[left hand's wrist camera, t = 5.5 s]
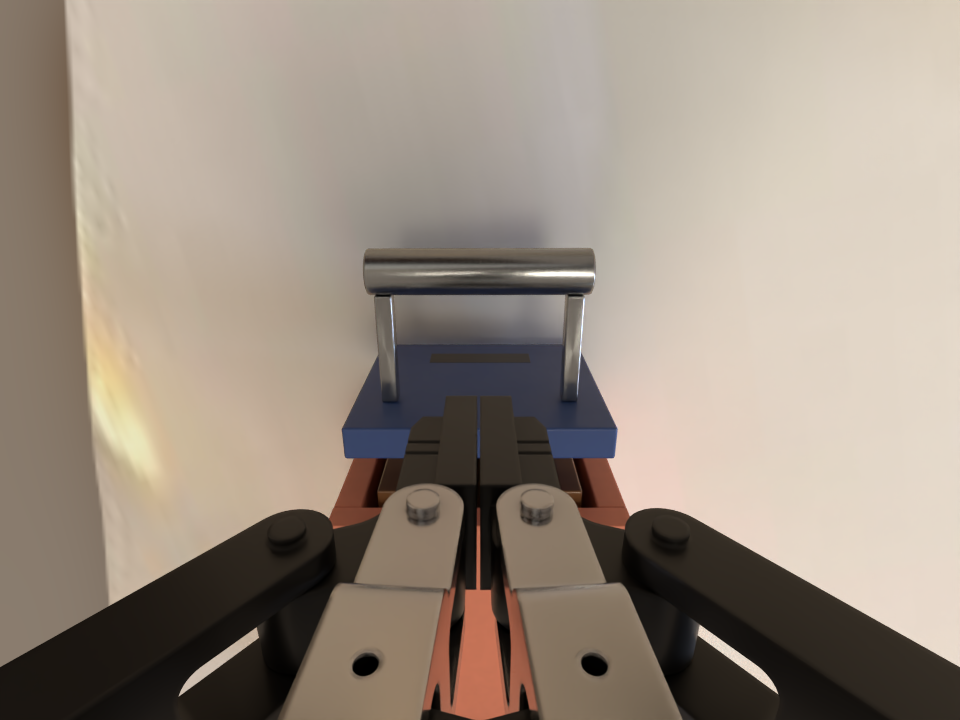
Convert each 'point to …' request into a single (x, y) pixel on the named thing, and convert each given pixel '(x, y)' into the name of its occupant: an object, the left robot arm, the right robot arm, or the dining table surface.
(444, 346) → the drawer
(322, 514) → the left robot arm
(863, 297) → the dining table surface
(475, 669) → the cabinet
